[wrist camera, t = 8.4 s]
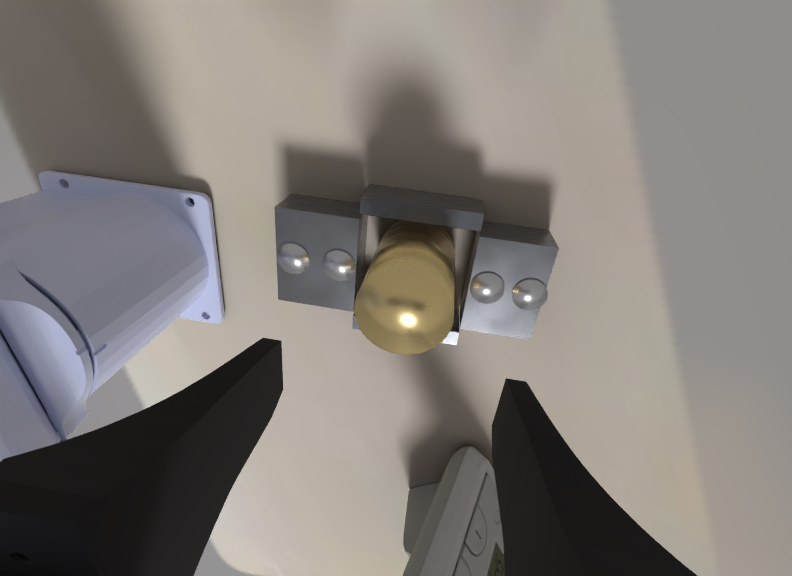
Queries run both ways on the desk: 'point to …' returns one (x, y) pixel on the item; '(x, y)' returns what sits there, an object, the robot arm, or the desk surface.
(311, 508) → the desk surface
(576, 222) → the desk surface
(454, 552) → the digital clock
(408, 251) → the link pin
